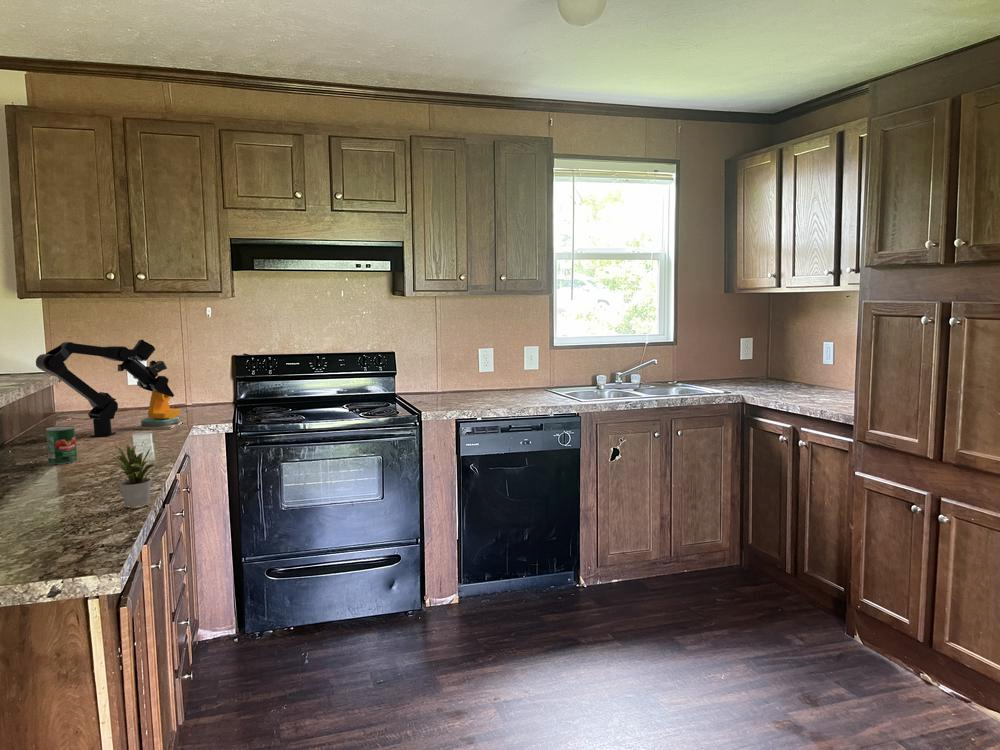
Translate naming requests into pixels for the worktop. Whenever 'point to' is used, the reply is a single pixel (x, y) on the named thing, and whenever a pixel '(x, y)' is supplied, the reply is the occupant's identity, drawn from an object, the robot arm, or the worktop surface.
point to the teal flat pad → (159, 423)
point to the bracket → (161, 407)
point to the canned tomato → (61, 444)
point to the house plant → (134, 477)
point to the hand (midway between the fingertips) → (168, 395)
